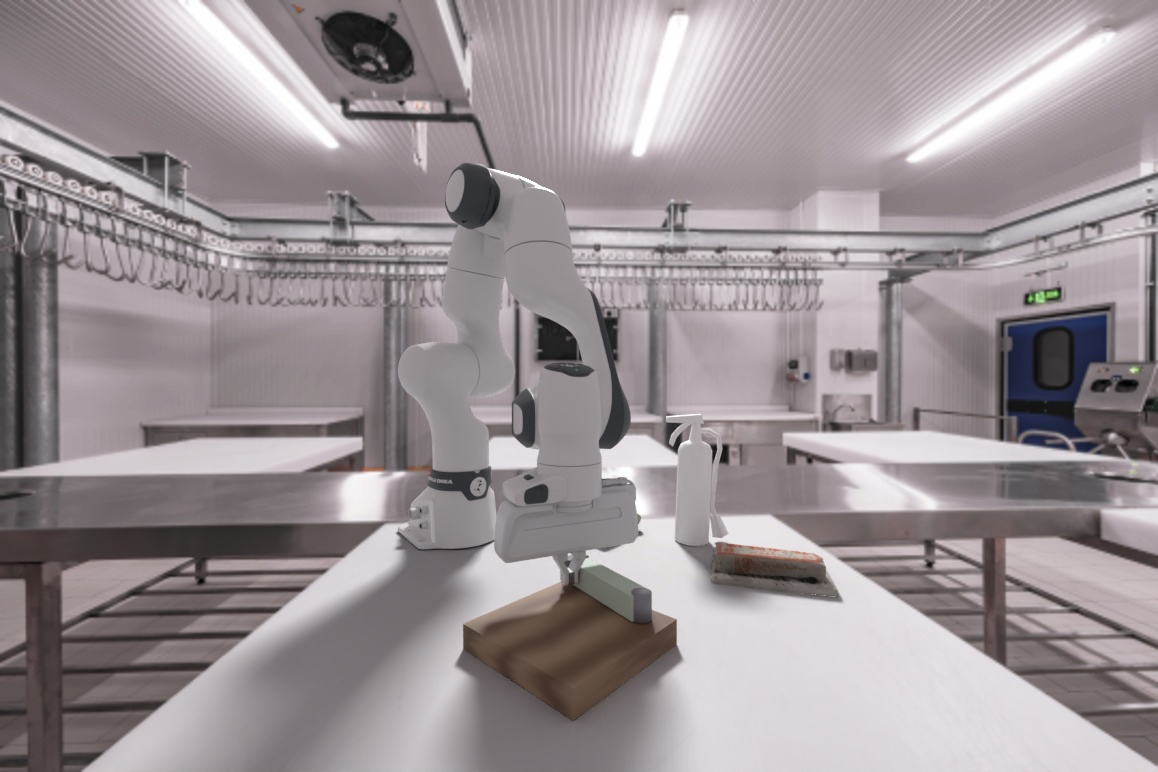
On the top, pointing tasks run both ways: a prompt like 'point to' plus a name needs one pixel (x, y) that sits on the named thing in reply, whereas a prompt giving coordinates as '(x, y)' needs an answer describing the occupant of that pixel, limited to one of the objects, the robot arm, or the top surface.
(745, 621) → the top surface
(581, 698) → the stool seat
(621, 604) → the hinged leg
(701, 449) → the fire extinguisher
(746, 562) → the packaged product
